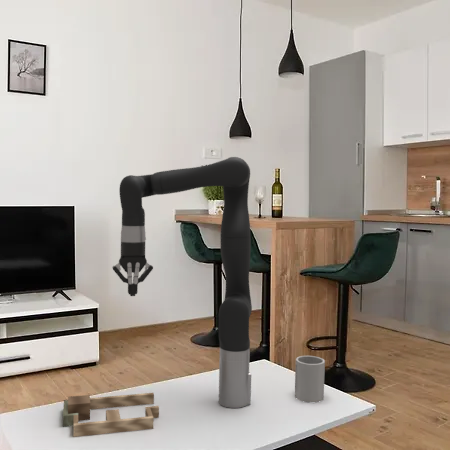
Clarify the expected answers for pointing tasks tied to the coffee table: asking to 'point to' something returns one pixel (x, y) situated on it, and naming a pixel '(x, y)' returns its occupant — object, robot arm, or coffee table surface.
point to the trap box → (113, 415)
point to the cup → (309, 378)
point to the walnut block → (80, 406)
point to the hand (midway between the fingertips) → (132, 295)
